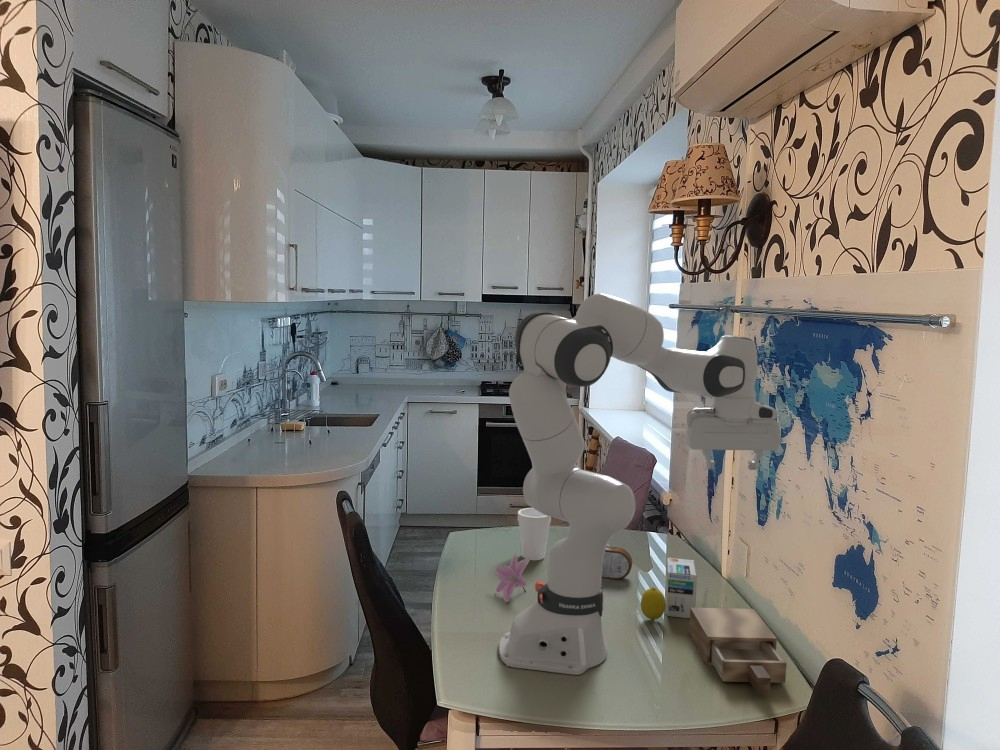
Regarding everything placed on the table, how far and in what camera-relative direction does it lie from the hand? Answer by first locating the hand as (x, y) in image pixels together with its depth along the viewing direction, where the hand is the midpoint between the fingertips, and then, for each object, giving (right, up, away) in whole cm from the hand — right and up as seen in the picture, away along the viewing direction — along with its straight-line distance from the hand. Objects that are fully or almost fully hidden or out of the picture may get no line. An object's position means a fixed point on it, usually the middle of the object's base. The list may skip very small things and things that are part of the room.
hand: (731, 469), depth 164 cm
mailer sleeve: (-3, -37, -8) cm, 38 cm away
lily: (-49, -34, +18) cm, 62 cm away
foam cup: (-42, -31, +45) cm, 69 cm away
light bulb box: (-9, -35, +12) cm, 38 cm away
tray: (-3, -38, -19) cm, 42 cm away
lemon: (-17, -36, +5) cm, 40 cm away
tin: (-25, -33, +31) cm, 51 cm away
